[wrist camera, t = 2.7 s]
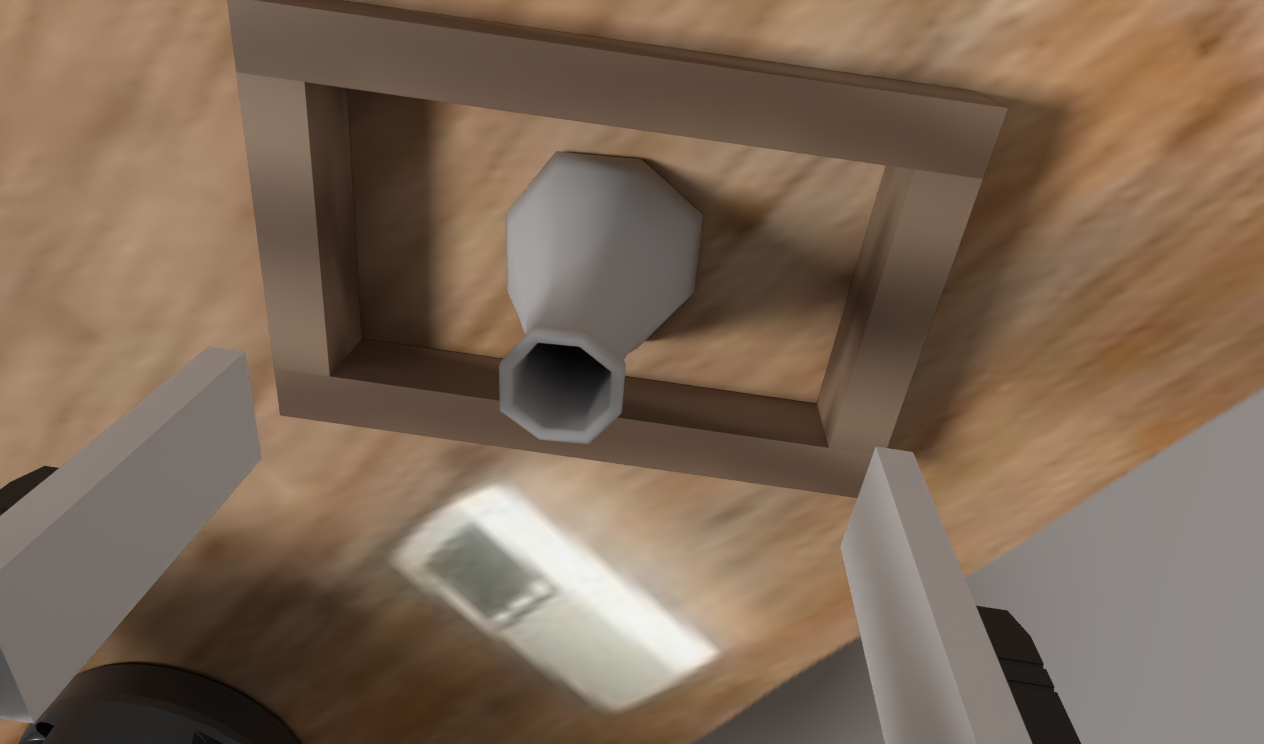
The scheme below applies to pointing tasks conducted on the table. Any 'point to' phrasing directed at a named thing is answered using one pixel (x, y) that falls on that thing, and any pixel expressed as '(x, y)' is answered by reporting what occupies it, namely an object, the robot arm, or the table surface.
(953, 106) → the block
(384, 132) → the table surface
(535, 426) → the flask
